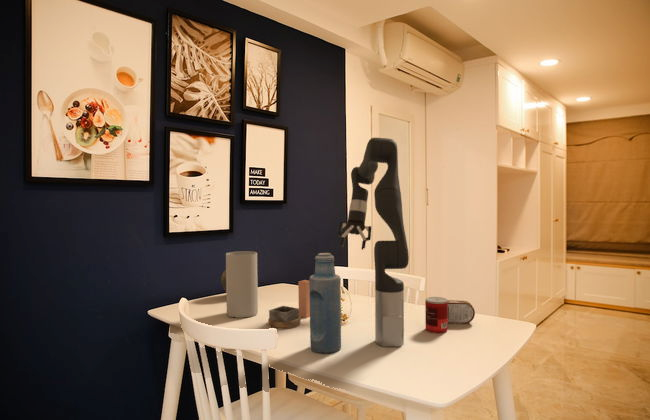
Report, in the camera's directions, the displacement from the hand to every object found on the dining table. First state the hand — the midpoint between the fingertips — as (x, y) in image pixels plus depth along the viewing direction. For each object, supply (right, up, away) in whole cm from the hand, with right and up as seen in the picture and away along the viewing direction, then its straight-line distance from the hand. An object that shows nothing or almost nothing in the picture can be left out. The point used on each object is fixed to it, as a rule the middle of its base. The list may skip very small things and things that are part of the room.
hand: (352, 248), depth 181 cm
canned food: (+28, -27, -31) cm, 50 cm away
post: (-20, -26, -12) cm, 35 cm away
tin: (+37, -26, -23) cm, 51 cm away
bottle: (-12, -27, -49) cm, 57 cm away
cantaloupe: (-55, -26, +22) cm, 64 cm away
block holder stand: (-27, -26, -23) cm, 44 cm away
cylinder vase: (-46, -26, -9) cm, 54 cm away
